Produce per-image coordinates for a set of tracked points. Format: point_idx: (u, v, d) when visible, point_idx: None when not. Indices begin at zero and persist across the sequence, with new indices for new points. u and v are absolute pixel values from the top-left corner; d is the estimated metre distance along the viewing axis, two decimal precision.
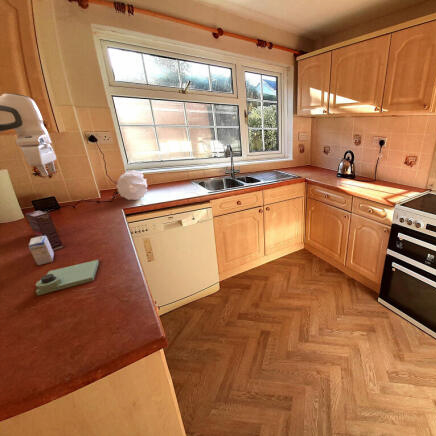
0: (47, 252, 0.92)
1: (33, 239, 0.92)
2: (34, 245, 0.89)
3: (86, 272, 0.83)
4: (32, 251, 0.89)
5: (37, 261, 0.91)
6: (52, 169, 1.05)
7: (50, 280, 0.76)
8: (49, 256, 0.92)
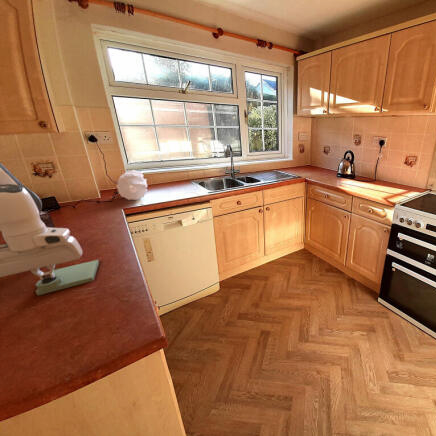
0: None
1: None
2: None
3: (86, 272, 0.83)
4: None
5: None
6: None
7: None
8: None
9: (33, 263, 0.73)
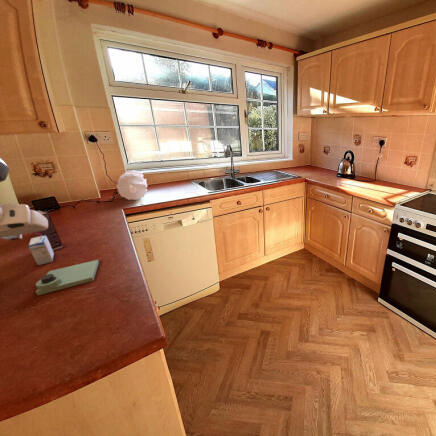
0: (47, 252, 0.92)
1: (33, 239, 0.92)
2: (34, 245, 0.89)
3: (86, 272, 0.83)
4: (32, 251, 0.89)
5: (37, 261, 0.91)
6: None
7: (50, 280, 0.76)
8: (49, 256, 0.92)
9: None
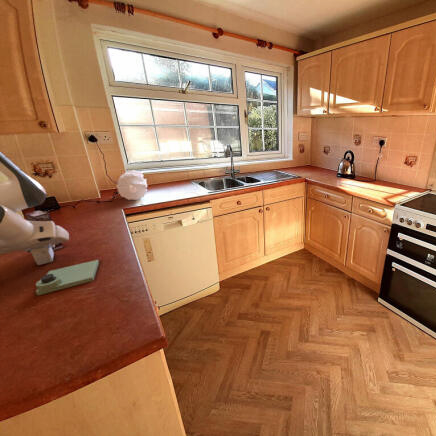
0: (47, 252, 0.92)
1: None
2: None
3: (86, 272, 0.83)
4: (32, 251, 0.89)
5: (37, 261, 0.91)
6: None
7: (50, 280, 0.76)
8: (49, 256, 0.92)
9: (28, 247, 0.87)
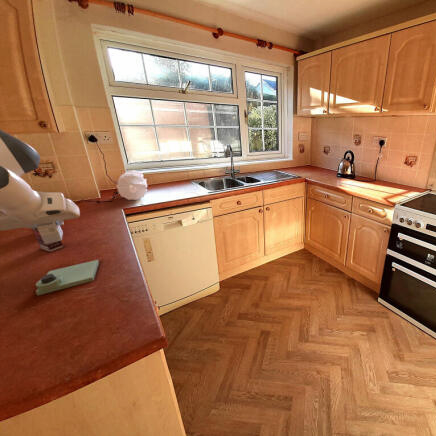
0: (55, 229, 0.82)
1: None
2: None
3: (86, 272, 0.83)
4: (38, 228, 0.79)
5: (44, 239, 0.81)
6: None
7: (50, 280, 0.76)
8: (58, 234, 0.82)
9: (35, 222, 0.77)
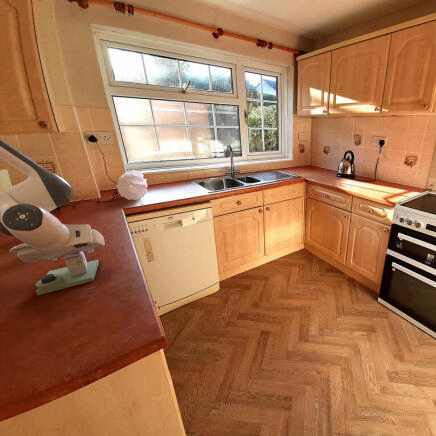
0: (82, 262, 0.82)
1: None
2: (68, 254, 0.79)
3: (86, 272, 0.83)
4: (66, 261, 0.79)
5: (71, 272, 0.81)
6: None
7: (50, 280, 0.76)
8: (84, 266, 0.82)
9: (61, 253, 0.77)
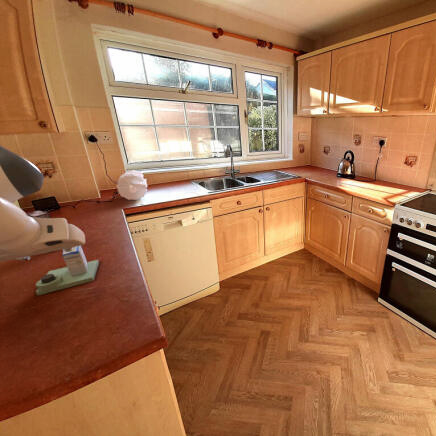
0: (82, 262, 0.82)
1: None
2: (68, 254, 0.79)
3: (86, 272, 0.83)
4: (66, 261, 0.79)
5: (71, 272, 0.81)
6: None
7: (50, 280, 0.76)
8: (84, 266, 0.82)
9: (32, 252, 0.64)
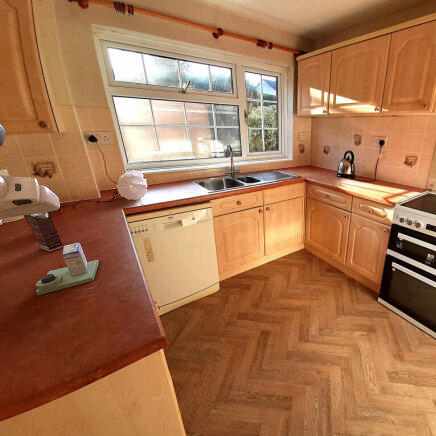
0: (82, 262, 0.82)
1: (66, 247, 0.82)
2: (68, 254, 0.79)
3: (86, 272, 0.83)
4: (66, 261, 0.79)
5: (71, 272, 0.81)
6: None
7: (50, 280, 0.76)
8: (84, 266, 0.82)
9: (1, 215, 0.61)
